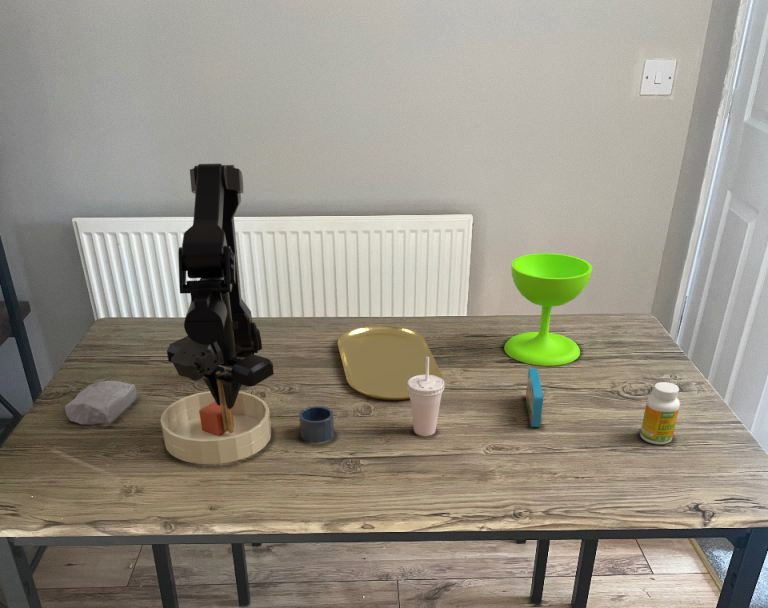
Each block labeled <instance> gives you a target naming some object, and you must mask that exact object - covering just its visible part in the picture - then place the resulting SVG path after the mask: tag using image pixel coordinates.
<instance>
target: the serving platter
mask: <svg viewBox="0 0 768 608" xmlns="http://www.w3.org/2000/svg"><path fill="white" fill-rule="evenodd" d="M337 348H338V353H339V356H340V360H341V364H342V369H343V371H344V375H345V379H346V382H347V384H348V386H350V387H351V389H353V390H354V391H355V392H357V393H358V394H360V395H363V396H365V397H368V398H372V399H375V400H381V401H407V400H410V392H409V390H408V389H407V386H408V380H409V379H410V378H412V377H414V376H417V375H425V373H426V357H429V375H433V376H437V377H439V378H441V379H442V371H441V370H440V367H439V365H438V364H437V361H436V359H435V357H434V355H433V353H432V351H431V349H430V347H429V345H428V343H427V341H426V339H425V337H424V336H423V335H422V334H421V333H419V332H418V331H416V330H414V329H412V328H408V327H405V326H400V325H390V324H373V325H372V324H371V325H366V326H361V327H357V328H353V329H350V330H348V331H346V332H344V333H343V334H342V335H340V337H339V338H338V340H337Z"/></svg>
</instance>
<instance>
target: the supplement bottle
mask: <svg viewBox="0 0 768 608" xmlns="http://www.w3.org/2000/svg"><path fill="white" fill-rule="evenodd" d="M679 391H680V387H679V386H678V385H676V384H675V383H672V382H668V381H660V382H656V383H655V384H654V386H653V390H652V394H651V395H649V397H648V398H647V400H646V403H645V409H644V414H643V419H642V423H641V429H640V434H639V435H640V437H641V439H642V440H644V441H645V442H647V443H649V444H652V445H666V444H668V443H670V442H672V440H673V437H674V434H675V428H676V425H677V421H678V416H679V411H680V407H681V402H680V399H678V395H679Z"/></svg>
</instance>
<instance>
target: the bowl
mask: <svg viewBox="0 0 768 608" xmlns="http://www.w3.org/2000/svg"><path fill="white" fill-rule="evenodd" d="M213 402H216V401H215V399H214V398H213V396H212V394H211V392H210V390H208V391H203V392H197V393H194V394H191V395H188V396H185V397H182V398H180V399H178V400H176V401H175V402H174V401H173V402H172V403H170V405H168V407H166V408H165V409H164V410H163V411H162V414H161V416H160V420H159V421H160V428H161V432H162V433H161V434H162V438H163V443H164V446H165V449H166V451H167V452H168V453H169V454H170V455H171V456H172V457H174V458H176V459H178V460H180V461H183V462H187V463H189V464H190V463H191V464H198V465H222V464H228V463H233V462H236V461H240V460H243V459H247V458H248V457H251V456H253V455H255V454H256V453H258V452H260V451H261V450H262V449H264V448H265V447H266V446H267V444H268V443H269V442H270V440H271V436H272V423H271V415H270V414H271V413H270V412H271V411H270V408H269V406H268V404H267V402H266V401H265V400H263V399H262V398H261V397H259V396H258V395H254V394H251V393H248V392H247V391H246V392H245V391H240V390H239V393H238V396H237V398H236V401H235V404H234V406H233V407H232V414H233V422H234V427H233V430H234V432H233V433H229V432H228V431H227V432H225V433H224V434H222V435H220V436H216V435H214V434H211V433H208V432H205V431H202V426H201V420H200V413H199V410H201V409H202V408H204V407H206V406H208V405H209V404H211V403H213Z"/></svg>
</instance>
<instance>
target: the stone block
mask: <svg viewBox="0 0 768 608" xmlns="http://www.w3.org/2000/svg"><path fill="white" fill-rule="evenodd" d="M137 391H138V390H137V388H136V385H135V384H133V383H132V384H131V383H128V382H122V381H117V380H104V381H98V382H93V383H92V384H89V385H87V386H86V387H85V388H84V389H82V390H81V391H80V392H78V394H77V395H76V396H75V398H74V399H72V400H71V401H70V402H68V403H67V404H66V405H65V406H64V409H65V410H64V411H65V415H66V416H67V418H68V419H69V421H70V422H73V423H76V424H79V425H83V426H84V425H88V426H89V425H91V426H94V425H96V424H105V425H108V424H112V423H113V422H114V421H115V419H117V418H118V417H119V416H120V415H121V414H122V413H123V412H124V411H126V409H128V408H129V407H131V405H133V403H134V402H135V401H136V400H137V397H138V392H137Z"/></svg>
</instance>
